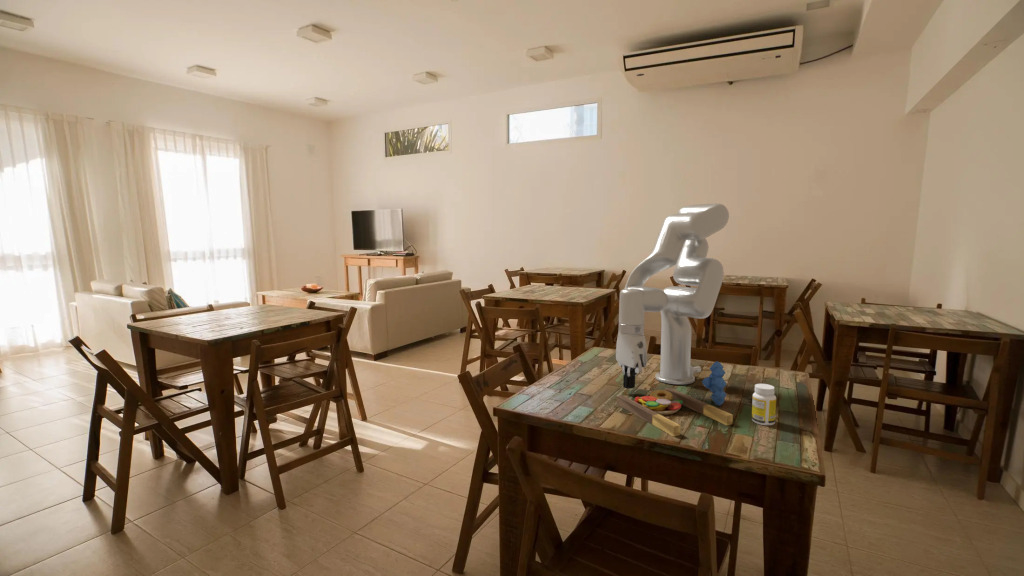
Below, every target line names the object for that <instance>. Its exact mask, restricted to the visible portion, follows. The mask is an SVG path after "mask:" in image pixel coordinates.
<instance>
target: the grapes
mask: <svg viewBox="0 0 1024 576" xmlns="http://www.w3.org/2000/svg"><path fill="white" fill-rule="evenodd" d="M709 371H711V373H710V374H709V376H706V377H705V378H703V380H702V381H701V383H702V385H703V386H704V387H705V388H706V389H709V391H710V392H711V395H710V398H711V400H712V401H713V403H714V404H715V405H716V406H721V405H723V404H724V402H725V401H726V399H725V398H726V397H727V393H726V392H725V390H724V388H725V387H726V386H727V382H726V380H725V379H724V375H726V371H725V370H724V366H723V364H722V363H721V362H720V361H718V360H715V362H713V364H712V365H711V366H710V368H709Z"/></svg>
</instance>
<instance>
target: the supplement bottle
mask: <svg viewBox="0 0 1024 576" xmlns="http://www.w3.org/2000/svg"><path fill="white" fill-rule="evenodd" d="M751 406H752V407H751V421H752V422H753V423H755V424H757V425H762V426H773V425H775V424H776V416H777V415H776V411H777V396H776V395H775V386H773V385H771V384H767V383H756V384H754V392H753V393H752V403H751Z"/></svg>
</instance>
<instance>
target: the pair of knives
mask: <svg viewBox="0 0 1024 576" xmlns="http://www.w3.org/2000/svg"><path fill="white" fill-rule="evenodd" d="M663 390H666V391H669V392H670V393H671V394H672V395H673V400H677V399H678V400H682V401H683V403H682V404H681V406H683V407H686V408H688V409H691V410H693V411H695V412H696V413H700V414H702V415H703V416H706V417H708V418H710V419H713V420H714V421H716V422H718V423H720V424H722V425H724V426H730V425H733V421H734V419H733V417H734V415H733V414H732V413H730V412H727V411H725V410H722V409H720V408H718V407H716V406H714V405H711V404H709V403H706V402H704V401H702V400H699V399H697V398H695V397H694V396H691V395H688V394H685V393H683V392H680V391H678V390H676V389H674V388H672V387H665V388H663ZM616 405H617V406H619V407H620V408H622V409H624V410H626V411H628V412H630V413H631V414H633V415H635V416H636V417H639V418H641V420H643V421H646V423H649V424H650V425H652V426H655V427H656V428H658V429H659V430H662V431H663V432H665V433H666V434H668V435H670V436H672V437H677V436H678V437H679V436H681V424H678V423H677V422H675V421H673V420H671V419H669V418H667V417H665V416H664V415H660V414H658V413H656V412H654V411H652V410H650V409H648V408H646V407H644V406H642V405H641V404H639V403H637V402H635V401H634V400H633V399H631V398H629V397H627V396H625V395H624V394H622V395H621V394H620V395H616Z"/></svg>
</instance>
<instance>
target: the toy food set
mask: <svg viewBox="0 0 1024 576" xmlns="http://www.w3.org/2000/svg"><path fill="white" fill-rule="evenodd" d="M633 401H635V402H637V403H639V404H641V405H642V406H644V407H646V408H648V409H650V410H652V411H654V412H656V413H658V414H660V415H662V416H665V415H673V414H675V413H677V412H678V411H680V410H681V408H682V403H683V401H682V400H678V399H677V400H673V395H672V394H671V393H670V392H669V391H666V390H664V389H656V390H655V389H654V390H652V391H651V392H650V393H649V395H644V396H636V397H635V398H634V400H633Z"/></svg>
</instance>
